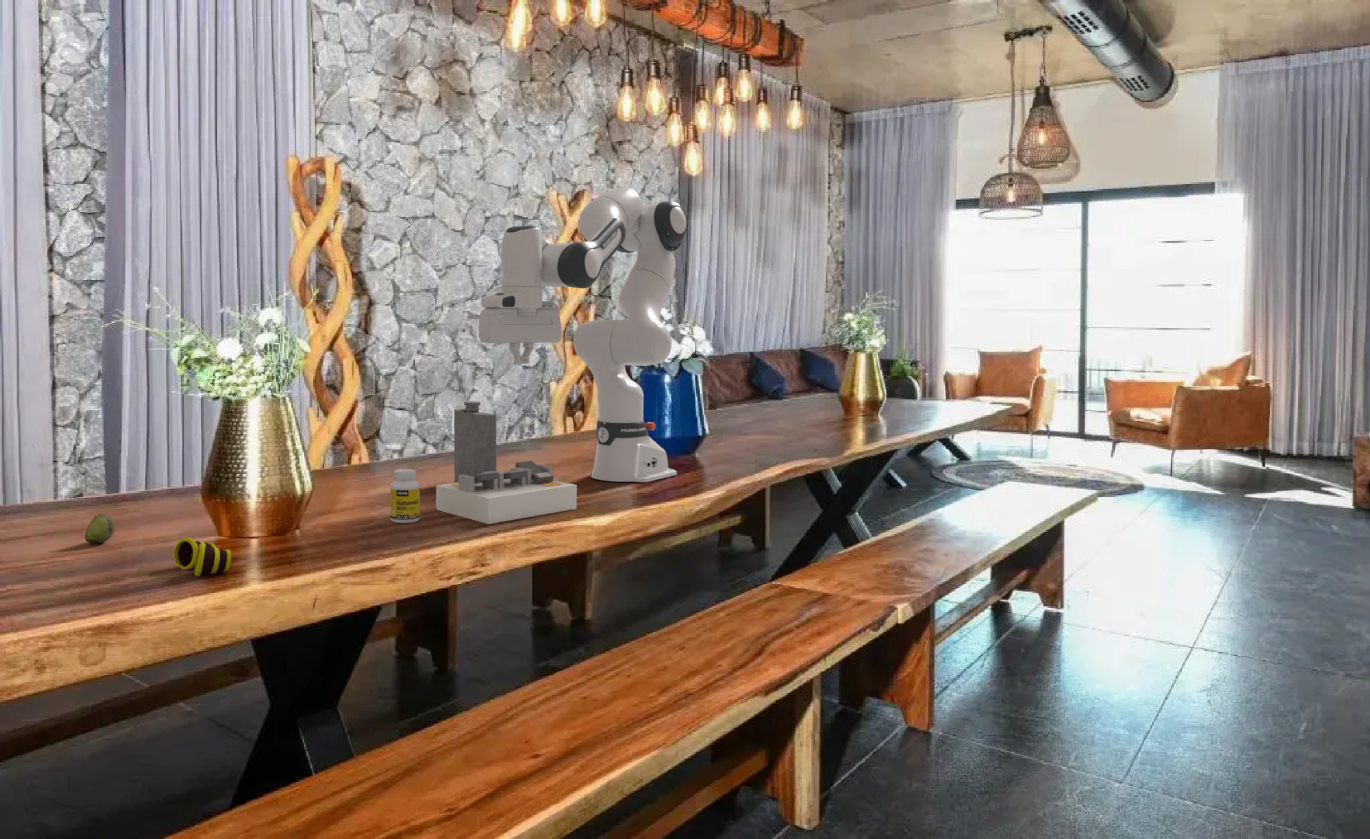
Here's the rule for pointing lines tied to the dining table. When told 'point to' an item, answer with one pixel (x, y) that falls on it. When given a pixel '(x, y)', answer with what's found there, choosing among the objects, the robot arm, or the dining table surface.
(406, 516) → the supplement bottle
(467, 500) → the switch console
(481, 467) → the hip flask
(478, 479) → the rocker
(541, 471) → the rocker
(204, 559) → the brown and yellow tube
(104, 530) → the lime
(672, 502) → the dining table surface
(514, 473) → the rocker
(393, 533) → the dining table surface
